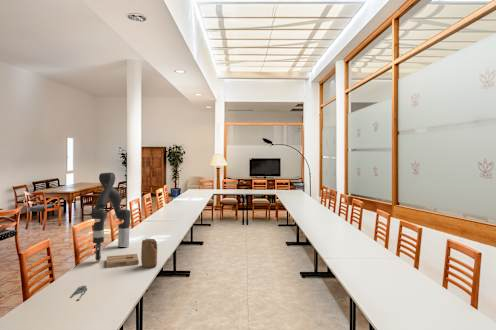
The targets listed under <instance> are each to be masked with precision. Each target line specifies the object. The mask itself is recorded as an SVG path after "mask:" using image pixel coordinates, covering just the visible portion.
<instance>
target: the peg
mask: <svg viewBox="0 0 496 330" xmlns="http://www.w3.org/2000/svg"><path fill="white" fill-rule="evenodd" d="M94 252H95V253H94V255H95V256H94V257H95V263H97V264H99V262H100V263H101V259H102V250H101V251H100V259H99V260H96V248H95V251H94ZM97 253H99V252H97Z"/></svg>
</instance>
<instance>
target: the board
mask: <svg viewBox="0 0 496 330" xmlns="http://www.w3.org/2000/svg"><path fill="white" fill-rule="evenodd" d="M138 264H140V261H139V256H138V253H128V254H120V255H119V254H117V255H107V256H106V267H105V268H106V269H107V268H118V267H117V266H119V267H126V266H127V267H128V266H136V265H137V266H139V265H138Z"/></svg>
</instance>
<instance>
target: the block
mask: <svg viewBox="0 0 496 330" xmlns="http://www.w3.org/2000/svg"><path fill="white" fill-rule="evenodd" d="M157 243H158V242H157V241H156V240H155V238H145V239H142V241H141V252H140V255H141V256H140V259H141V260H140V261H141V262H140V263H141V266H142V268H144V269H145V268H146V269H150V268H152V269H153V268H155V267H156V266H157V265H158V244H157Z"/></svg>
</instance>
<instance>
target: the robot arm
mask: <svg viewBox="0 0 496 330" xmlns="http://www.w3.org/2000/svg"><path fill="white" fill-rule="evenodd" d="M98 180H99V183H100V184H101V186H102V188H103V190H102V191H101V192H100V193H99V195H98V197H97V201H96V203H95V205H94V208H93V209H92V211H91V212H90V217H91V219H93V220H99V221H95V222H94V223H93V231H92V243H93V244H94V245H95V249H96V259H95V261H96V260H99V259H100V260H101V258H100V251H101V252H102V243H104V241H105V236H104V235H105V230H104V226H105V221H106V219H107V211H106V209H105V208H107V204H108V200H109V202H110V203H111V205H112V208H113V212H114V214H115V217H116V218H117V220H119V221H123V222H122V223H119V224H118V226H117V230H118V231H117V248H118V247H127V246H129V247H130V225H131V211H130V210H129V209H123V208H121V203H122V200H123V199H122V198H123V197H122V195H121V193H120V192H119V190H117V188H114V184H115V182H116V174H115V173H114V172H102V173H100V174H99V176H98ZM127 248H128V247H127ZM97 252H99V253H97Z"/></svg>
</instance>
